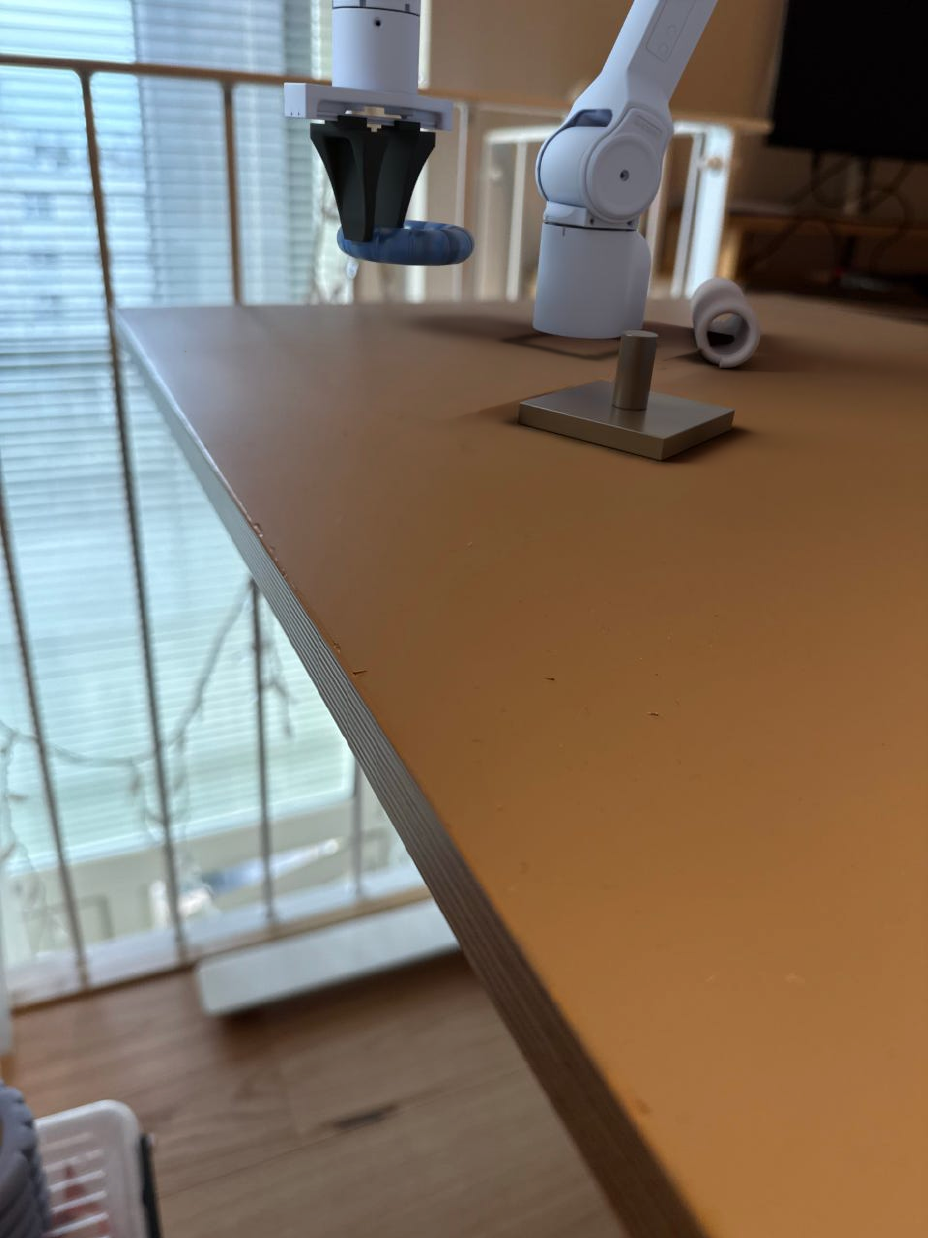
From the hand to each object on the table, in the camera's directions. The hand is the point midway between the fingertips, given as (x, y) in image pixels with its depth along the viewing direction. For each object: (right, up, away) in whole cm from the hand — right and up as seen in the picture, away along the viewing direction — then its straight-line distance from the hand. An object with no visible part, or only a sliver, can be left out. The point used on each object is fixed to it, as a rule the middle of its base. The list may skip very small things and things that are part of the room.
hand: (372, 239), depth 66 cm
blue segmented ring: (+2, +1, +3) cm, 4 cm away
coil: (+28, -4, +12) cm, 30 cm away
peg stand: (+16, -16, -13) cm, 26 cm away
